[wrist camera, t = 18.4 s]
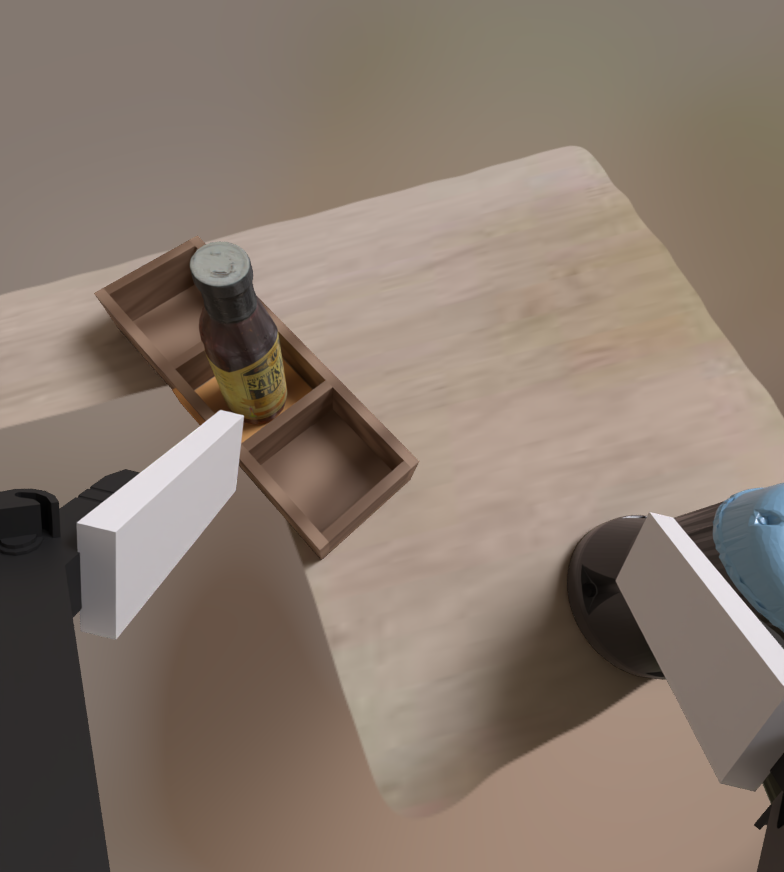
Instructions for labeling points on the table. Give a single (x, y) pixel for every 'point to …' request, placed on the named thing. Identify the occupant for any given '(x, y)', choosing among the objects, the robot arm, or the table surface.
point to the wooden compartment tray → (285, 434)
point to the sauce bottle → (238, 334)
